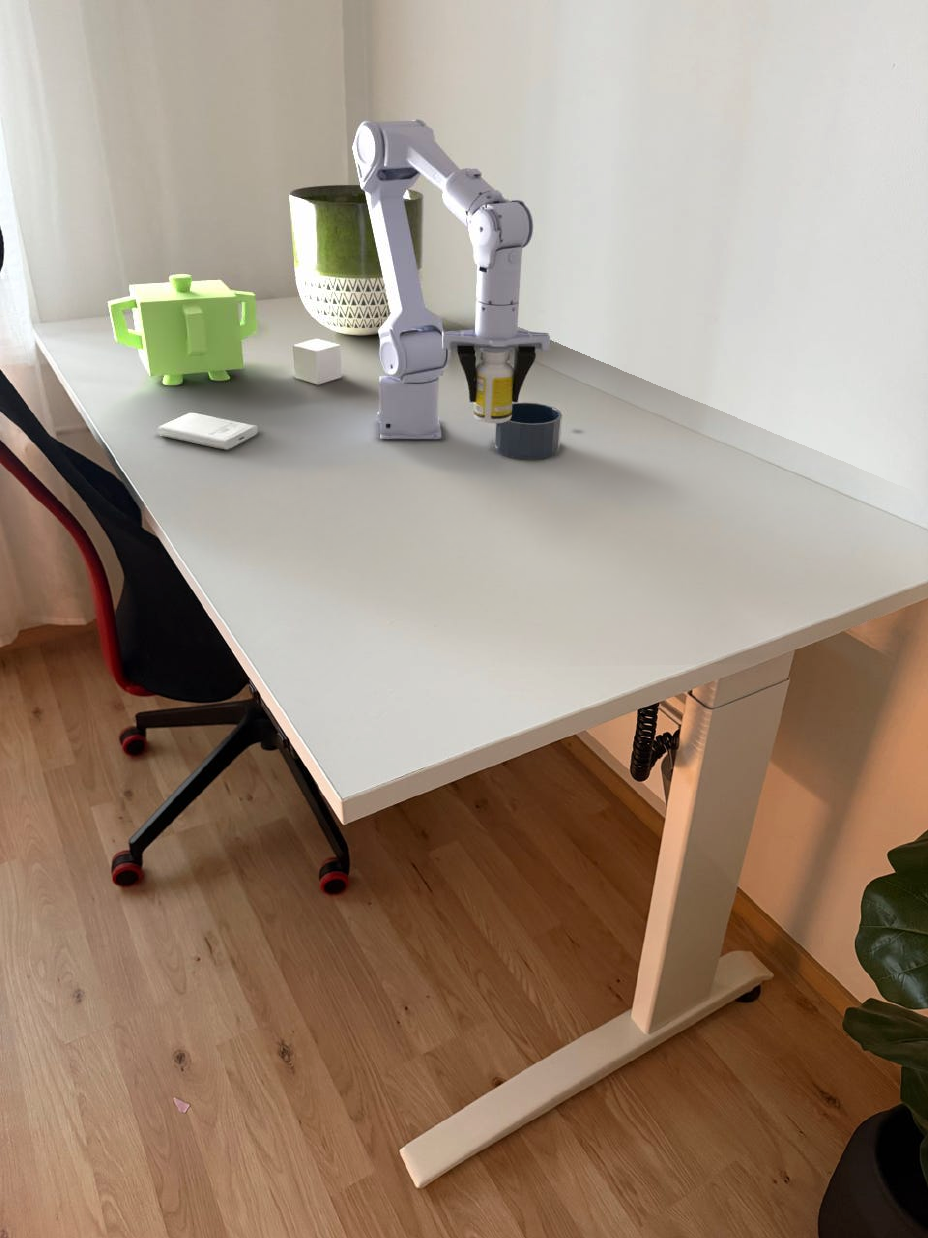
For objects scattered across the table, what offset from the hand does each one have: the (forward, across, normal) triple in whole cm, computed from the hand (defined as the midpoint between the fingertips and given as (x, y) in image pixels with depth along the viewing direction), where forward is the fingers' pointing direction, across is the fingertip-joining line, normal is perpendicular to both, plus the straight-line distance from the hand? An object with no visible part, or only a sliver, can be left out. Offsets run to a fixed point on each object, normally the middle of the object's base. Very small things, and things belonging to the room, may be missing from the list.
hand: (492, 399), depth 133 cm
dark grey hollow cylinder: (+10, +6, +9) cm, 15 cm away
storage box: (+11, -51, +45) cm, 69 cm away
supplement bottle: (+3, 0, 0) cm, 3 cm away
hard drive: (+11, -43, +13) cm, 46 cm away
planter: (+11, -21, +76) cm, 80 cm away
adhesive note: (+11, -28, +43) cm, 53 cm away
